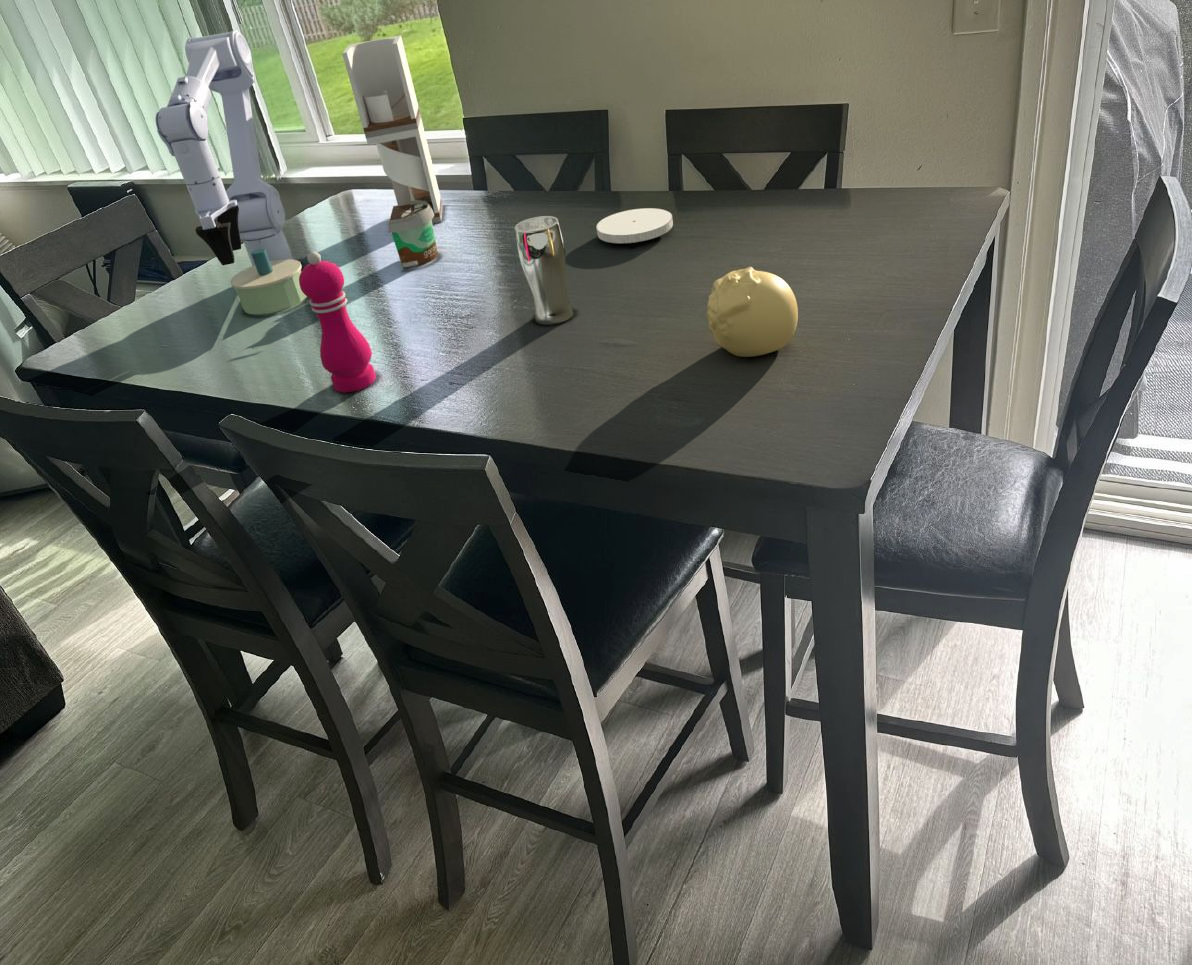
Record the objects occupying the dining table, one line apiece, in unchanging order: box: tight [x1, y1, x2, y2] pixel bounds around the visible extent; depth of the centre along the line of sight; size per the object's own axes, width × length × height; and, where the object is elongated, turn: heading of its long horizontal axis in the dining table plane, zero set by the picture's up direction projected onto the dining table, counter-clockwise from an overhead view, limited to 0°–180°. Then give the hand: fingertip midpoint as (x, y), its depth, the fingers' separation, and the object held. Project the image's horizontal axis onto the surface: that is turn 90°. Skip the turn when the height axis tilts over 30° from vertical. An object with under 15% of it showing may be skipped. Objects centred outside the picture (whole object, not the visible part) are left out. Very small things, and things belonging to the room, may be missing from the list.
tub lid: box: [230, 249, 303, 289], centre depth 166 cm, size 13×13×5 cm
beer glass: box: [514, 215, 574, 326], centre depth 142 cm, size 7×7×15 cm
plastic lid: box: [596, 207, 674, 244], centre depth 171 cm, size 14×14×2 cm
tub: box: [234, 269, 308, 315], centre depth 169 cm, size 12×12×6 cm
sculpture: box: [706, 266, 799, 358], centre depth 124 cm, size 11×12×11 cm
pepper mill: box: [299, 251, 377, 393], centre depth 132 cm, size 7×7×20 cm
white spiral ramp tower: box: [341, 34, 444, 225], centre depth 192 cm, size 11×11×35 cm
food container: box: [387, 200, 438, 269], centre depth 175 cm, size 12×6×10 cm, turn 168°
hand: (232, 256), depth 165 cm, fingers open, 7 cm apart
